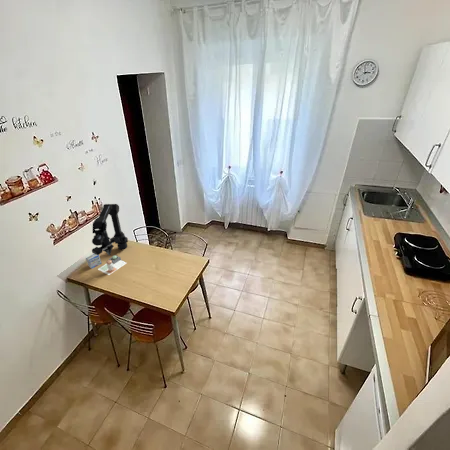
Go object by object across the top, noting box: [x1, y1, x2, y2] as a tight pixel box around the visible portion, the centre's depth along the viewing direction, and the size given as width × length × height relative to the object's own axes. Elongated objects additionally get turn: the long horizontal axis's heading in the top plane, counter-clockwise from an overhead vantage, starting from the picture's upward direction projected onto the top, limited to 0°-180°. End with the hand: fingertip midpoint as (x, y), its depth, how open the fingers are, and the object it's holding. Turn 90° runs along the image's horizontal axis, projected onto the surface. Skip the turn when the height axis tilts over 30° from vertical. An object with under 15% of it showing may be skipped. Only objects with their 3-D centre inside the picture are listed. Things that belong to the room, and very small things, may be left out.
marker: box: [105, 259, 114, 272], centre depth 180 cm, size 4×4×8 cm
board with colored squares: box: [97, 254, 127, 276], centre depth 186 cm, size 18×15×3 cm
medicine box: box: [85, 253, 102, 270], centre depth 186 cm, size 8×4×9 cm, turn 143°
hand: (109, 255), depth 180 cm, fingers closed
